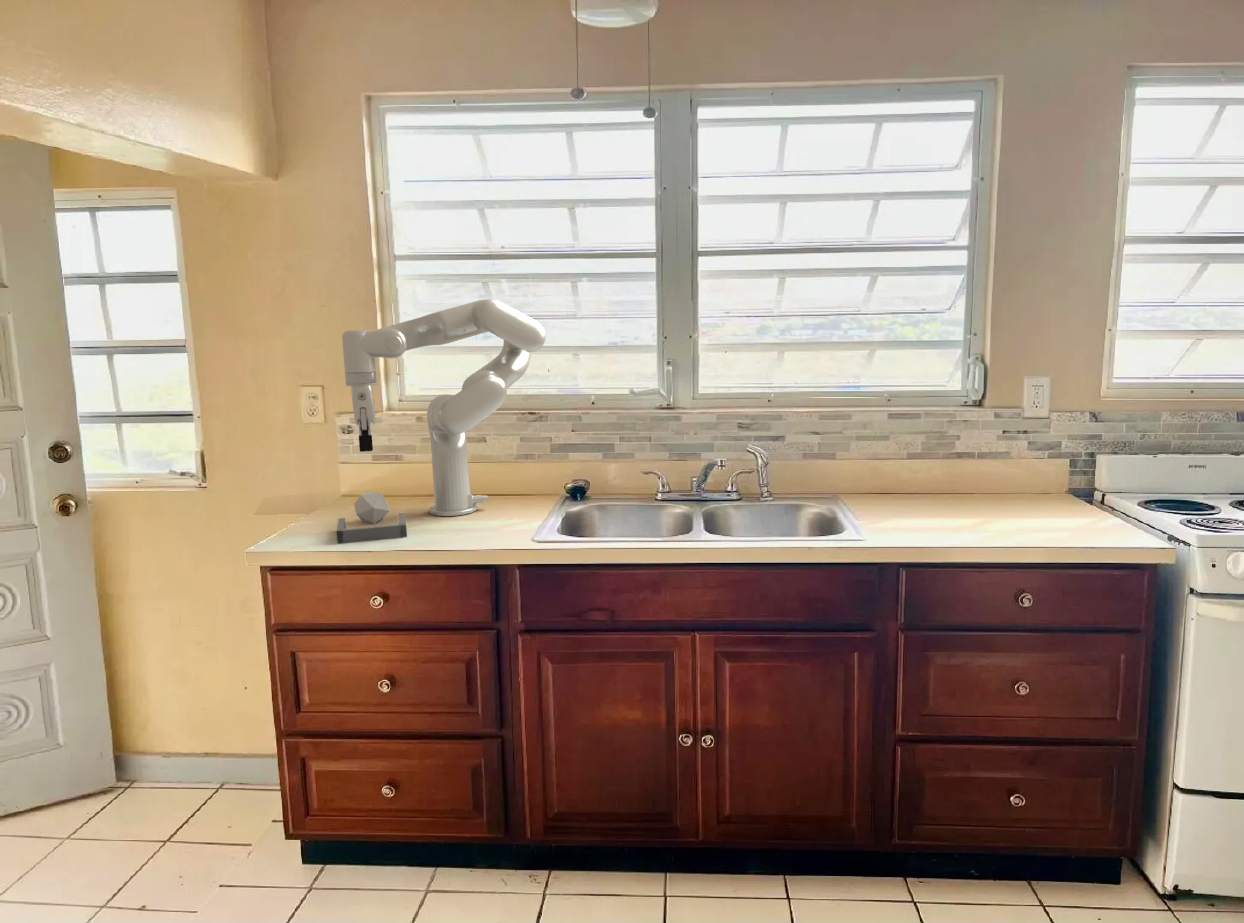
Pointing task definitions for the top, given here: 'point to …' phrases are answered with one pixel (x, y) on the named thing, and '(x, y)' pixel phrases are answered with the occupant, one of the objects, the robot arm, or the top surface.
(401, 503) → the top surface
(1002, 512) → the top surface
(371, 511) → the die
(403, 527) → the bay
